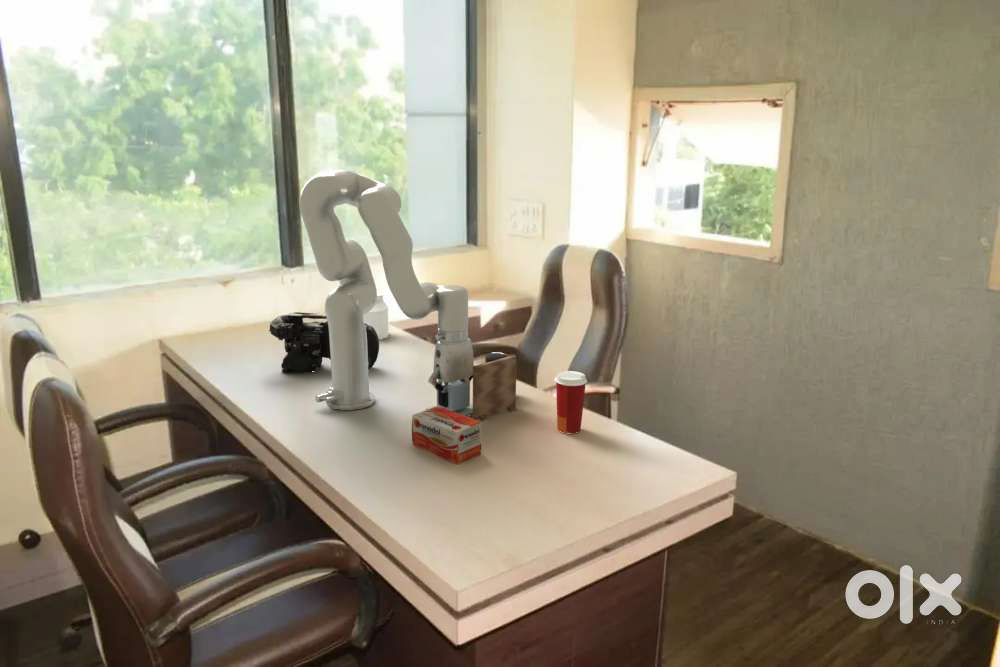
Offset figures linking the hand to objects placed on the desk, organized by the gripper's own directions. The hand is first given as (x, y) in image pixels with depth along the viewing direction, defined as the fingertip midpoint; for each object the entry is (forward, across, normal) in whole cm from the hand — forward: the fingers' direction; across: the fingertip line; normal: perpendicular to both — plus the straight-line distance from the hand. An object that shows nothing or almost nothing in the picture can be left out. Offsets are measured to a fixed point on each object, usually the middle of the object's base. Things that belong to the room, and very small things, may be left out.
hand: (453, 402), depth 197 cm
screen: (+2, +7, -8) cm, 11 cm away
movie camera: (+3, -7, +52) cm, 52 cm away
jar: (+3, +25, +73) cm, 77 cm away
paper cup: (+3, +13, -28) cm, 31 cm away
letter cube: (+1, 0, 0) cm, 1 cm away
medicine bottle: (+3, +16, +1) cm, 16 cm away
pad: (+3, 0, 0) cm, 3 cm away
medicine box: (+3, -17, -17) cm, 24 cm away
